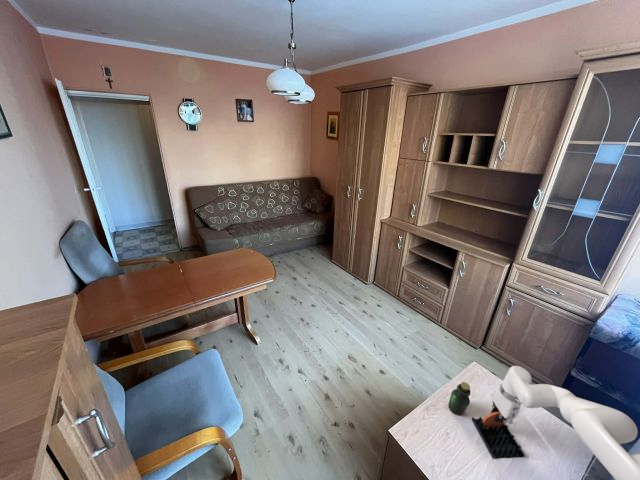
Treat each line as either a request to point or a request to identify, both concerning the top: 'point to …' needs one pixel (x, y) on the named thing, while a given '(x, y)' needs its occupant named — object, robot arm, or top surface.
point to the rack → (498, 440)
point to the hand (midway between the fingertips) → (496, 417)
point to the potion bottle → (460, 399)
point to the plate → (492, 420)
